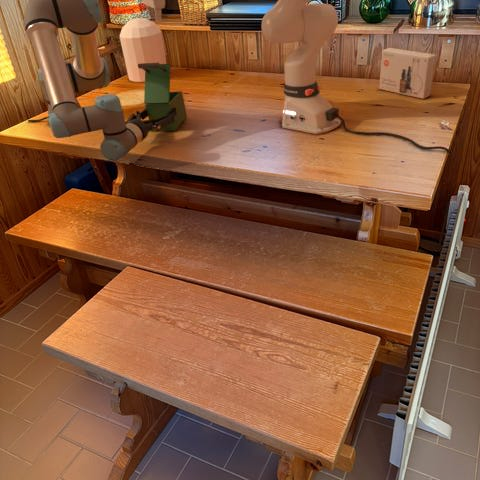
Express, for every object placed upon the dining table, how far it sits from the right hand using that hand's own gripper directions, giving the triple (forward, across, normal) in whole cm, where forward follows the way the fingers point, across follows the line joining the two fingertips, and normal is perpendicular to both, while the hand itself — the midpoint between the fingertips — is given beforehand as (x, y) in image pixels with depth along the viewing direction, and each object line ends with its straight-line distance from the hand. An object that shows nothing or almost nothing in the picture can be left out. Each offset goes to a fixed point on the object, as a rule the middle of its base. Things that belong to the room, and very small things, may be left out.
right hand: (155, 20), depth 162 cm
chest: (+37, +2, -2) cm, 37 cm away
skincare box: (+37, +25, +91) cm, 102 cm away
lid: (+20, +4, -4) cm, 21 cm away
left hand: (+30, +5, -4) cm, 31 cm away
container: (+37, -75, +8) cm, 84 cm away
